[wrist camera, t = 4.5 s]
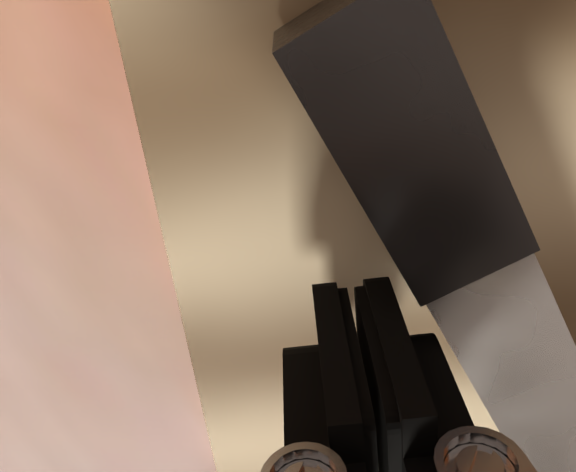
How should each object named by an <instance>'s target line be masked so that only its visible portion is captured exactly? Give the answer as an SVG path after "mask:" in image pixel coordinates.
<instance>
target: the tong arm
mask: <svg viewBox="0 0 576 472" xmlns="http://www.w3.org/2000/svg"><path fill="white" fill-rule="evenodd" d="M272 54H273V56H274V57H275V59H276V61H277V63H278V64H279V66H280V68H281V69H282V71H283V73H284V75H285V76H286V78H287V80H288V81H289V83H290V85H291V87H292V88H293V90H294V92H295V93H296V95H297V97H298V98H299V100H300V102H301V104H302V105H303V107H304V109H305V110H306V112H307V114H308V116H309V117H310V119H311V121H312V122H313V124H314V126H315V128H316V129H317V131H318V133H319V134H320V136H321V138H322V139H323V141H324V143H325V145H326V146H327V148H328V150H329V151H330V153H331V155H332V157H333V158H334V160H335V162H336V163H337V165H338V167H339V169H340V170H341V172H342V174H343V175H344V177H345V179H346V181H347V182H348V184H349V186H350V187H351V189H352V191H353V192H354V194H355V196H356V198H357V199H358V201H359V203H360V204H361V206H362V208H363V210H364V211H365V213H366V215H367V216H368V218H369V220H370V222H371V223H372V225H373V227H374V228H375V230H376V232H377V233H378V235H379V237H380V239H381V240H382V242H383V244H384V245H385V247H386V249H387V251H388V252H389V254H390V256H391V257H392V259H393V261H394V263H395V264H396V266H397V268H398V269H399V271H400V273H401V274H402V276H403V278H404V280H405V281H406V283H407V285H408V286H409V288H410V290H411V292H412V293H413V295H414V297H415V298H416V300H417V302H418V304H419V305H420V307H422V306H424V305H427V307H428V309H429V311H430V312H431V314H432V316H433V318H434V319H435V321H436V323H437V324H438V326H439V328H440V330H441V331H442V333H443V335H444V337H445V338H446V340H447V342H448V344H449V345H450V347H451V349H452V350H453V352H454V354H455V356H456V357H457V359H458V361H459V363H460V364H461V366H462V368H463V369H464V371H465V373H466V375H467V376H468V378H469V380H470V382H471V383H472V385H473V387H474V388H475V390H476V392H477V394H478V395H479V397H480V399H481V401H482V402H483V404H484V406H485V408H486V409H487V411H488V413H489V414H490V416H491V418H492V420H493V421H494V423H495V425H496V427H497V428H498V430H499V432H500V433H502V434H504V435H505V436H507V437H508V438H510V439H511V440H513V441H514V442H515V443H516V444H517V445H518V446H519V447H520V448H521V450H522V451H523V452H524V453H525V455H526V456H527V458H528V459H529V461H530V462H531V463H532V465H533V466H534V468H535V469H536V471H537V472H576V346H575V343H574V341H573V339H572V337H571V334H570V332H569V330H568V328H567V325H566V323H565V321H564V319H563V316H562V314H561V312H560V310H559V307H558V305H557V303H556V301H555V298H554V296H553V294H552V292H551V289H550V287H549V285H548V283H547V280H546V278H545V276H544V274H543V271H542V269H541V267H540V265H539V262H538V260H537V258H536V256H535V254H534V253H536V252H538V251H540V248H539V245H538V243H537V241H536V239H535V236H534V234H533V232H532V229H531V227H530V225H529V223H528V220H527V218H526V216H525V213H524V211H523V209H522V207H521V204H520V202H519V200H518V197H517V195H516V193H515V191H514V188H513V186H512V184H511V181H510V179H509V177H508V175H507V172H506V170H505V168H504V165H503V163H502V161H501V159H500V156H499V154H498V152H497V149H496V147H495V145H494V143H493V140H492V138H491V136H490V133H489V131H488V129H487V127H486V124H485V122H484V120H483V117H482V115H481V113H480V111H479V108H478V106H477V104H476V101H475V99H474V97H473V95H472V92H471V90H470V88H469V86H468V83H467V81H466V79H465V76H464V74H463V72H462V70H461V67H460V65H459V63H458V60H457V58H456V56H455V54H454V51H453V49H452V47H451V44H450V42H449V40H448V38H447V35H446V33H445V31H444V28H443V26H442V24H441V22H440V19H439V17H438V15H437V12H436V10H435V8H434V6H433V3H432V1H431V0H322V1H321V2H319V3H318V4H316V5H315V6H313V7H311V8H310V9H308V10H307V11H305V12H304V13H302V14H300V15H299V16H297V17H296V18H294V19H293V20H291V21H289V22H288V23H286V24H285V25H283V26H282V27H280V28H279V29H277V30H275V31H274V35H273V47H272Z"/></svg>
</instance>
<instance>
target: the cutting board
mask: <svg viewBox="0 0 576 472" xmlns="http://www.w3.org/2000/svg"><path fill="white" fill-rule="evenodd" d="M321 1H322V0H109V3H110V8H111V12H112V17H113V21H114V25H115V30H116V34H117V38H118V43H119V47H120V52H121V56H122V60H123V65H124V69H125V73H126V78H127V82H128V86H129V91H130V95H131V100H132V104H133V108H134V113H135V117H136V121H137V126H138V130H139V135H140V139H141V143H142V148H143V152H144V156H145V161H146V165H147V169H148V174H149V178H150V183H151V187H152V191H153V196H154V200H155V204H156V209H157V213H158V218H159V222H160V226H161V231H162V235H163V239H164V244H165V248H166V252H167V257H168V261H169V266H170V270H171V274H172V279H173V283H174V287H175V292H176V296H177V301H178V305H179V309H180V314H181V318H182V322H183V327H184V331H185V335H186V340H187V344H188V349H189V353H190V357H191V362H192V366H193V370H194V375H195V379H196V384H197V388H198V392H199V397H200V401H201V405H202V410H203V414H204V418H205V423H206V427H207V432H208V436H209V440H210V445H211V449H212V453H213V458H214V462H215V467H216V471H217V472H261V469H262V467H263V464H264V463H265V462H266V461H267V459H268V458H269V457H270V456H271V455H272V454H273V453H275V452H276V451H277V450H279V449H280V448H282V447H284V413H283V356H282V353H283V348H288V347H298V346H307V345H317V344H318V338H317V329H316V319H315V310H314V301H313V292H312V284H321V283H330V282H336V283H337V288H346V287H347V290H348V294H349V299H350V304H351V308H352V313H353V318H354V322H355V327H356V313H355V298H354V287H356V286H363V279H369V278H378V277H389V279H390V281H391V284H392V287H393V290H394V292H395V295H396V298H397V301H398V304H399V307H400V309H401V312H402V315H403V318H404V321H405V324H406V326H407V329H408V332H409V335H416V334H426V333H434V334H435V335H436V337H437V339H438V341H439V343H440V345H441V348H442V350H443V353H444V355H445V357H446V360H447V362H448V364H449V367H450V369H451V371H452V374H453V376H454V379H455V381H456V383H457V386H458V388H459V390H460V393H461V395H462V398H463V400H464V402H465V405H466V407H467V409H468V412H469V414H470V416H471V419H472V421H473V424H474V426H479V427H486V428H490V429H492V430H495V431H498V432H499V430H498V428H497V427H496V425H495V423H494V421H493V420H492V418H491V416H490V414H489V413H488V411H487V409H486V408H485V406H484V404H483V402H482V401H481V399H480V397H479V395H478V394H477V392H476V390H475V388H474V387H473V385H472V383H471V382H470V380H469V378H468V376H467V375H466V373H465V371H464V369H463V368H462V366H461V364H460V363H459V361H458V359H457V357H456V356H455V354H454V352H453V350H452V349H451V347H450V345H449V344H448V342H447V340H446V338H445V337H444V335H443V333H442V331H441V330H440V328H439V326H438V324H437V323H436V321H435V319H434V318H433V316H432V314H431V312H430V311H429V309H428V307H427V305H424V306H422V307H420V305H419V304H418V302H417V300H416V298H415V297H414V295H413V293H412V292H411V290H410V288H409V286H408V285H407V283H406V281H405V280H404V278H403V276H402V274H401V273H400V271H399V269H398V268H397V266H396V264H395V263H394V261H393V259H392V257H391V256H390V254H389V252H388V251H387V249H386V247H385V245H384V244H383V242H382V240H381V239H380V237H379V235H378V233H377V232H376V230H375V228H374V227H373V225H372V223H371V222H370V220H369V218H368V216H367V215H366V213H365V211H364V210H363V208H362V206H361V204H360V203H359V201H358V199H357V198H356V196H355V194H354V192H353V191H352V189H351V187H350V186H349V184H348V182H347V181H346V179H345V177H344V175H343V174H342V172H341V170H340V169H339V167H338V165H337V163H336V162H335V160H334V158H333V157H332V155H331V153H330V151H329V150H328V148H327V146H326V145H325V143H324V141H323V139H322V138H321V136H320V134H319V133H318V131H317V129H316V128H315V126H314V124H313V122H312V121H311V119H310V117H309V116H308V114H307V112H306V110H305V109H304V107H303V105H302V104H301V102H300V100H299V98H298V97H297V95H296V93H295V92H294V90H293V88H292V87H291V85H290V83H289V81H288V80H287V78H286V76H285V75H284V73H283V71H282V69H281V68H280V66H279V64H278V63H277V61H276V59H275V57H274V56H273V54H272V47H273V35H274V31H275V30H277V29H279V28H280V27H282V26H283V25H285V24H286V23H288V22H289V21H291V20H293V19H294V18H296V17H297V16H299V15H300V14H302V13H304V12H305V11H307V10H308V9H310V8H311V7H313V6H315V5H316V4H318V3H319V2H321ZM431 1H432V3H433V6H434V8H435V10H436V12H437V15H438V17H439V19H440V22H441V24H442V26H443V28H444V31H445V33H446V35H447V38H448V40H449V42H450V44H451V47H452V49H453V51H454V54H455V56H456V58H457V60H458V63H459V65H460V67H461V70H462V72H463V74H464V76H465V79H466V81H467V83H468V86H469V88H470V90H471V92H472V95H473V97H474V99H475V101H476V104H477V106H478V108H479V111H480V113H481V115H482V117H483V120H484V122H485V124H486V127H487V129H488V131H489V133H490V136H491V138H492V140H493V143H494V145H495V147H496V149H497V152H498V154H499V156H500V159H501V161H502V163H503V165H504V168H505V170H506V172H507V175H508V177H509V179H510V181H511V184H512V186H513V188H514V191H515V193H516V195H517V197H518V200H519V202H520V204H521V207H522V209H523V211H524V213H525V216H526V218H527V220H528V223H529V225H530V227H531V229H532V232H533V234H534V236H535V239H536V241H537V243H538V245H539V248H540V251H538V252H536V253H534V254H535V256H536V258H537V260H538V262H539V265H540V267H541V269H542V271H543V274H544V276H545V278H546V280H547V283H548V285H549V287H550V289H551V292H552V294H553V296H554V298H555V301H556V303H557V305H558V307H559V310H560V312H561V314H562V316H563V319H564V321H565V323H566V325H567V328H568V330H569V332H570V334H571V337H572V339H573V341H574V343H575V346H576V0H431ZM356 332H357V328H356Z"/></svg>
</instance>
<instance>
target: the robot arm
mask: <svg viewBox="0 0 576 472" xmlns="http://www.w3.org/2000/svg"><path fill="white" fill-rule="evenodd" d="M312 292H313V301H314V310H315V319H316V329H317V338H318V344H317V345H307V346H298V347H288V348H283V353H282V356H283V413H284V447H282V448H280V449H279V450H277V451H276V452H275V453H273V454H272V455H271V456H270V457H269V458H268V459H267V461H266V462H265V463H264V464H263V467H262V469H261V472H537V471H536V469H535V468H534V466H533V465H532V463H531V462H530V461H529V459H528V458H527V456H526V455H525V453H524V452H523V451H522V450H521V448H520V447H519V446H518V445H517V444H516V443H515V442H514V441H513V440H511V439H510V438H508V437H507V436H505V435H504V434H502V433H500V432H498V431H495V430H492V429H490V428H486V427H479V426H474V424H473V421H472V419H471V416H470V414H469V412H468V409H467V407H466V405H465V402H464V400H463V398H462V395H461V393H460V390H459V388H458V386H457V383H456V381H455V379H454V376H453V374H452V371H451V369H450V367H449V364H448V362H447V360H446V357H445V355H444V353H443V350H442V348H441V345H440V343H439V341H438V339H437V337H436V335H435V334H434V333H426V334H416V335H409V332H408V329H407V326H406V324H405V321H404V318H403V315H402V312H401V309H400V307H399V304H398V301H397V298H396V295H395V292H394V290H393V287H392V284H391V281H390V279H389V277H378V278H369V279H363V286H356V287H354V298H355V313H356V327H355V322H354V318H353V313H352V308H351V304H350V299H349V294H348V290H347V287H346V288H337V283H336V282H330V283H321V284H312ZM356 328H357V332H356Z"/></svg>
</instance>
